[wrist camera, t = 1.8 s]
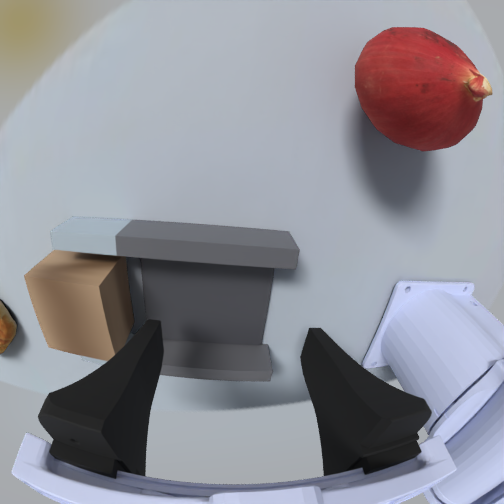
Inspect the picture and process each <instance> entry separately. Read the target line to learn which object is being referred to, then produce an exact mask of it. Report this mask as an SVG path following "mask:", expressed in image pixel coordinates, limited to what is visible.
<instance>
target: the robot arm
mask: <svg viewBox="0 0 504 504" xmlns="http://www.w3.org/2000/svg"><path fill="white" fill-rule="evenodd" d="M406 288H407V289H406ZM405 289H406V290H405ZM473 290H474V284H473V283H471V282H429V281H400V282H398V283H397V284H396V285H395V287H394V290H393V293H392V296H391V298H390V301H389V303H388V306H387V308H386V311H385V313H384V316H383V318H382V321H381V323H380V325H379V328H378V330H377V332H376V335H375V337H374V339H373V341H372V343H371V346H370V348H369V350H368V352H367V354H366V356H365V358H364V360H363V362H362V365H363V367H364V368H375V367H382V366H390V367H391V369H392V371H393V372H394V374H395V376H396V377H397V379H398V381H399V383H400V384H401V386H402V388H403V389H404V391H405V392H404V391H401V390H399V389H397V388H395V387H393V386H391V385H389V384H387V383H386V382H384V381H382V380H380V379H379V378H377V377H376V376H374V375H373V374H371V373H370V372H368V371H367V370H366V369H364V368H363V367H362V366H360V365H359V364H358V363H357V362H356V361H355V360H353V359H352V358H351V357H350V356H349V355H348V354H347V353H346V352H344V351H343V350H342V349H341V348H340V347H339V346H338V345H337V344H336V343H335V342H334V341H333V340H332V339H331V338H330V337H329V336H328V335H327V334H326V333H325V332H324V331H323V330H322V329H321V328H309V330H308V334H307V337H306V340H305V344H304V347H303V350H302V353H301V356H300V358H301V364H302V370H303V375H304V378H305V381H306V384H307V388H308V391H309V394H310V397H311V400H312V403H313V406H314V409H315V413H316V417H317V423H318V428H319V434H320V440H321V448H322V458H323V470H324V476H322V477H317V478H311V479H304V480H297V481H288V482H278V483H266V484H241V485H240V484H236V485H235V484H234V485H233V484H229V485H228V484H203V483H190V482H180V481H171V480H164V479H158V478H151V477H146V476H145V467H146V445H147V434H148V425H149V417H150V410H151V405H152V401H153V398H154V394H155V390H156V387H157V383H158V379H159V376H160V372H161V368H162V362H163V355H164V346H163V337H162V327H161V321H160V320H151V319H148V320H147V321H146V322H145V324H144V325H143V326H142V327H141V328H140V329H139V331H138V332H137V333H136V334H135V335H134V336H133V337H132V338H131V339H130V340H129V341H128V343H127V344H126V345H125V346H124V347H123V348H122V349H121V350H119V351H118V352H117V353H116V354H115V355H114V356H113V357H112V358H111V359H110V360H108V361H107V362H106V363H105V364H103V365H102V366H101V367H100V368H98V369H97V370H95V371H94V372H92V373H91V374H89V375H88V376H86V377H84V378H83V379H81V380H79V381H77V382H75V383H73V384H71V385H69V386H67V387H64V388H62V389H59V390H57V391H54V392H51V393H49V394H48V396H47V398H46V399H45V402H44V404H43V406H42V408H41V410H40V413H39V415H38V418H39V421H40V423H41V425H42V426H43V427H44V428H45V430H46V431H47V432H48V433H49V434H50V436H51V437H52V438H53V439H54V440H53V442H52V445H51V444H50V443H49V442H47V441H45V440H43V439H41V438H39V437H37V436H35V435H32V434H30V433H28V432H26V434H25V436H24V439H23V441H22V444H21V447H20V449H19V452H18V455H17V457H16V460H15V463H14V466H13V469H12V474H13V475H14V476H15V477H17V478H18V479H20V480H21V481H22V482H24V483H25V484H27V485H28V486H29V487H31V488H32V489H34V490H35V491H37V492H38V493H40V494H42V495H44V496H46V497H48V498H50V499H52V500H54V501H57V502H59V503H61V504H399V503H402V502H404V501H406V500H408V499H410V498H412V497H414V496H416V495H419V494H421V493H423V494H424V496H425V498H426V499H427V500H428V502H429V503H430V504H504V325H503V324H502V323H501V322H500V321H499V320H497V318H496V317H495V316H494V315H492V314H491V313H490V312H489V311H488V310H487V309H486V308H485V307H484V306H483V305H482V304H481V303H479V302H478V301H477V300H476V299H475V298H474V297H473V296H471V295H472V293H473ZM423 426H424V428H425V430H426V432H427V434H428V435H429V437H428V438H427V439H426V440H425V441H424V442H422V443H421V444H419V445H418V443H417V441H416V440H418V439H419V436H418V434H417V432H418V431H419V430H420V429H421V428H422V427H423Z"/></svg>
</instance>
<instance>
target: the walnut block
mask: <svg viewBox="0 0 504 504" xmlns="http://www.w3.org/2000/svg"><path fill="white" fill-rule="evenodd" d="M24 277H25V281H26V284H27V288H28V291H29V295H30V298H31V301H32V304H33V307H34V310H35V313H36V316H37V319H38V321H39V324H40V327H41V329H42V332H43V335H44V337H45V339H46V342H47V344H48V347H49V348H53V349H57V350H61V351H64V352H68V353H72V354H77V355H81V356H85V357H90V358H95V359H99V360H104V361H108V360H110V359H111V358H112V357H113V356H114V355H115V354H116V353H117V352H118V351H119V350H121V349H122V348H123V347H124V346H125V343H126V341H127V338H128V336H129V334H130V331H131V329H132V327H133V324H134V316H133V310H132V303H131V296H130V289H129V281H128V273H127V263H126V256H115V255H104V254H94V253H83V252H73V251H63V250H54V251H52V252H51V253H50V254H49V255H47V256H46V257H45V258H44V259H43V260H42V261H40V262H39V263H38V264H37V265H36V266H34V267H33V268H32V269H31V270H30V271H29V272H28V273H27V274H25V275H24Z"/></svg>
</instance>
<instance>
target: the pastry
mask: <svg viewBox="0 0 504 504" xmlns="http://www.w3.org/2000/svg"><path fill="white" fill-rule="evenodd" d="M16 328H17V324H16V322H15V321H14V320H13V319H12V317H11V315H10V314H9V312H8V310H7V309H6V308H5V306H4V305H3V303H2V302H1V301H0V354H1V353H3V352H4V351H5V350H6V348H7V347H8V345H9V344H10V342H11V341H12V340H13V338H14V336H15V334H16Z"/></svg>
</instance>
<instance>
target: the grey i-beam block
mask: <svg viewBox="0 0 504 504" xmlns="http://www.w3.org/2000/svg"><path fill="white" fill-rule="evenodd" d="M50 235H51V242H52V248H53V250H63V251H73V252H83V253H94V254H104V255H115V256H126V257H138V258H141V267H142V281H143V292H144V302H145V311H146V320H148V319H151V320H160V321H161V327H162V337H163V346H164V355H163V362H162V368H161V372H160V375H166V376H175V377H185V378H195V379H208V380H226V381H270V380H271V376H272V372H273V370H272V365H271V359H270V354H269V348H268V345H266V344H261V343H262V337H263V332H264V326H265V321H266V315H267V309H268V304H269V298H270V292H271V286H272V281H273V275H274V269H275V268H283V269H296V266H297V261H298V256H299V250H300V249H299V248H298V246H297V244H296V243H295V241H294V239H293V238H292V236H291V234H290V233H289V232H288V231H277V230H266V229H254V228H243V227H230V226H218V225H204V224H191V223H176V222H161V221H145V220H127V219H108V218H86V217H72V218H70V219H68V220H67V221H65V222H64V223H62V224H61V225H59V226H57V227H56V228H54V229H53V230H51V231H50ZM134 335H135V334H131V333H130V334H129V336H128V338H127V341H126V343H125V345H126V344H127V343H128V341H129V340H130V339H131V338H132V337H133V336H134ZM81 358H82V360H83V361H87V362H92V363H96V364H101V365H103V364H105V363H106V362H107V361H104V360H99V359H95V358H90V357H85V356H81Z"/></svg>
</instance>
